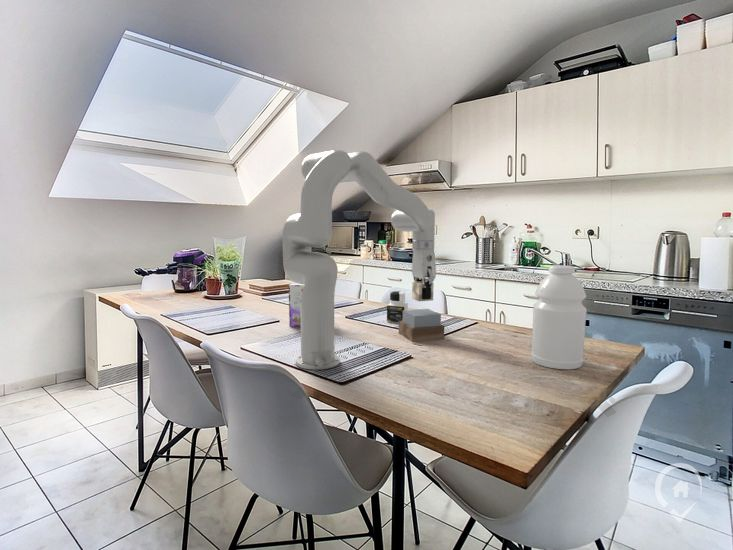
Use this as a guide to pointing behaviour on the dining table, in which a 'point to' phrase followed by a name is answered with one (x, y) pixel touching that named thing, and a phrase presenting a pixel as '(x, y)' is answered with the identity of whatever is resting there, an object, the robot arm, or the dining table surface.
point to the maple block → (420, 291)
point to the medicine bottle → (396, 307)
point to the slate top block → (421, 318)
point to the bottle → (559, 320)
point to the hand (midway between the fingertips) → (422, 297)
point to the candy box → (295, 304)
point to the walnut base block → (421, 332)
